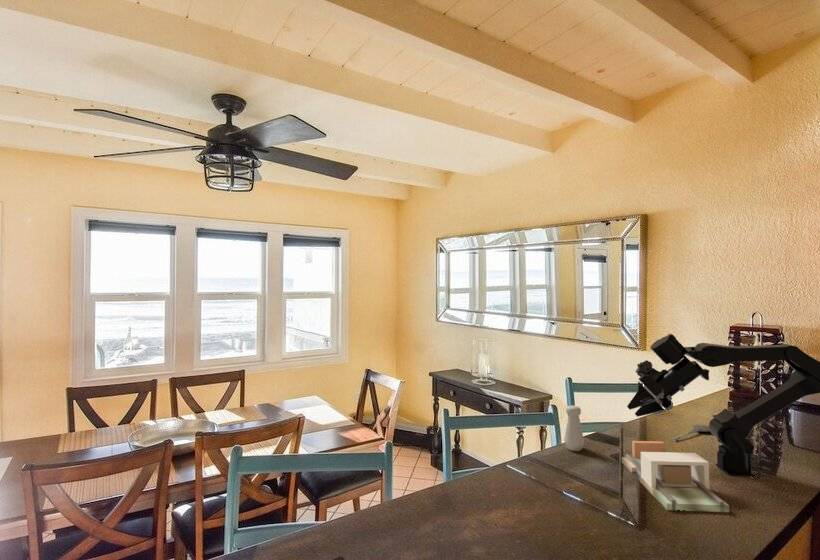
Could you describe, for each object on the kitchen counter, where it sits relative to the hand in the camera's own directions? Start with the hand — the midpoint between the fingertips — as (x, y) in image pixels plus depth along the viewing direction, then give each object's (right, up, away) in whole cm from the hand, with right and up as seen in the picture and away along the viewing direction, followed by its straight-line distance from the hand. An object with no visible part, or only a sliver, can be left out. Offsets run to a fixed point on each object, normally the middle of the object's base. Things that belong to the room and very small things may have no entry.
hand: (632, 411), depth 124 cm
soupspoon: (+31, -15, +22) cm, 40 cm away
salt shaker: (-12, -15, +11) cm, 22 cm away
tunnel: (+2, -13, -17) cm, 21 cm away
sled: (+3, -12, -10) cm, 16 cm away
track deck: (+2, -14, -14) cm, 20 cm away
